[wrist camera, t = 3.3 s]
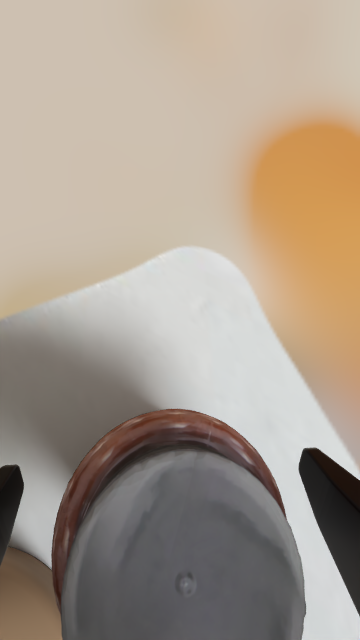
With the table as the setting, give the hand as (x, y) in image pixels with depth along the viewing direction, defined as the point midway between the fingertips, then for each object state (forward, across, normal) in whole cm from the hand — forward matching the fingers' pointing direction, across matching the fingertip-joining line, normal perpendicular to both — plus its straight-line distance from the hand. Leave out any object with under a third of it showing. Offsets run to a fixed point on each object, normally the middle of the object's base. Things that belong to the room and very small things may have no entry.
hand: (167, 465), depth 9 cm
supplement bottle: (+4, 0, +6) cm, 7 cm away
